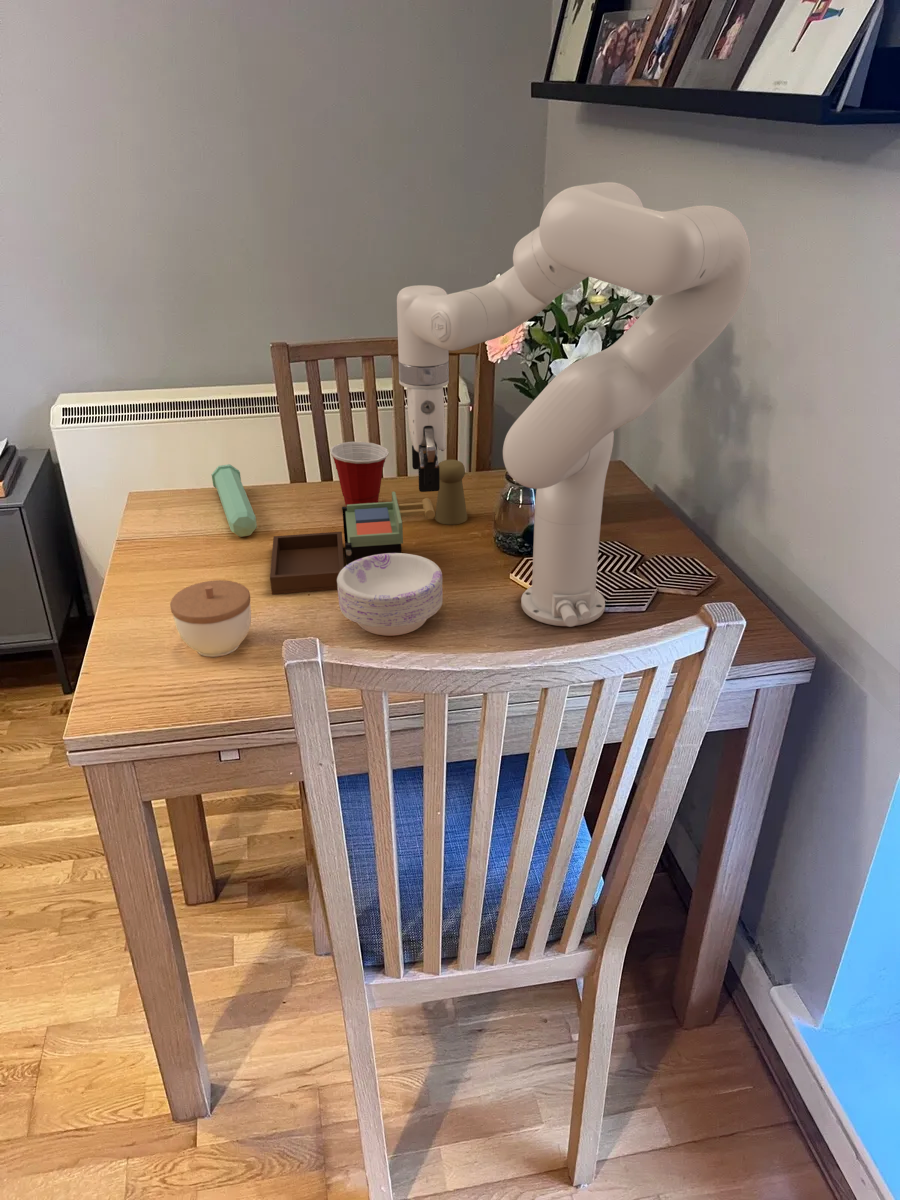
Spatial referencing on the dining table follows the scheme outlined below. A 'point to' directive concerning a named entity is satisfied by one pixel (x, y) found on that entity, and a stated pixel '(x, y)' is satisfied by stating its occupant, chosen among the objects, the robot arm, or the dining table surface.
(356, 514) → the blue sachet
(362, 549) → the stand
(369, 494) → the plastic cup
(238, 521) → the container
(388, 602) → the paper bowls
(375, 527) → the coral sachet
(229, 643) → the trinket box
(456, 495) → the pepper mill
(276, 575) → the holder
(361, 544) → the green handled tray
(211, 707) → the dining table surface
